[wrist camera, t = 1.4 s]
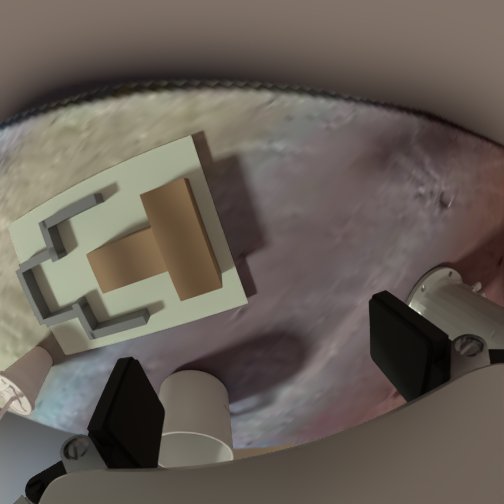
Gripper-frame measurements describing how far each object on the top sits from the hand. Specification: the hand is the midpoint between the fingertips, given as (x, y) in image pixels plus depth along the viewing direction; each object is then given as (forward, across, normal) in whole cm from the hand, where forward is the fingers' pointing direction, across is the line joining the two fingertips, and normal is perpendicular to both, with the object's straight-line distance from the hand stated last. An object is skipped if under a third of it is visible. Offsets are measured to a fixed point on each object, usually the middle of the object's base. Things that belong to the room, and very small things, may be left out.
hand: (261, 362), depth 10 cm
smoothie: (+20, +31, +9) cm, 38 cm away
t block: (+19, +8, -2) cm, 20 cm away
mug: (+20, +10, +19) cm, 29 cm away
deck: (+20, +13, -2) cm, 24 cm away
